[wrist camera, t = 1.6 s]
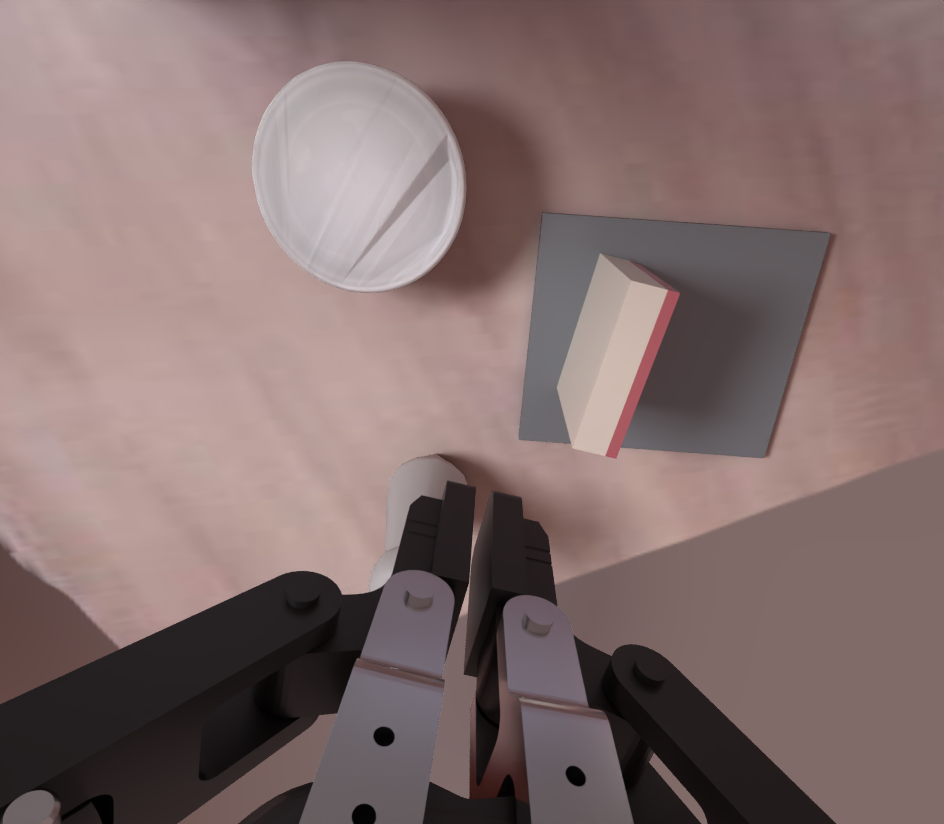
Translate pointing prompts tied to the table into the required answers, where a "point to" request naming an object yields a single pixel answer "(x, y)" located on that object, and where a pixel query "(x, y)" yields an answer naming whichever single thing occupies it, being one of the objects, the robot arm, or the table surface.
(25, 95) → the table surface
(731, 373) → the slate mat
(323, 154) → the ramekin
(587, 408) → the tile
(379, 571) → the salt shaker
